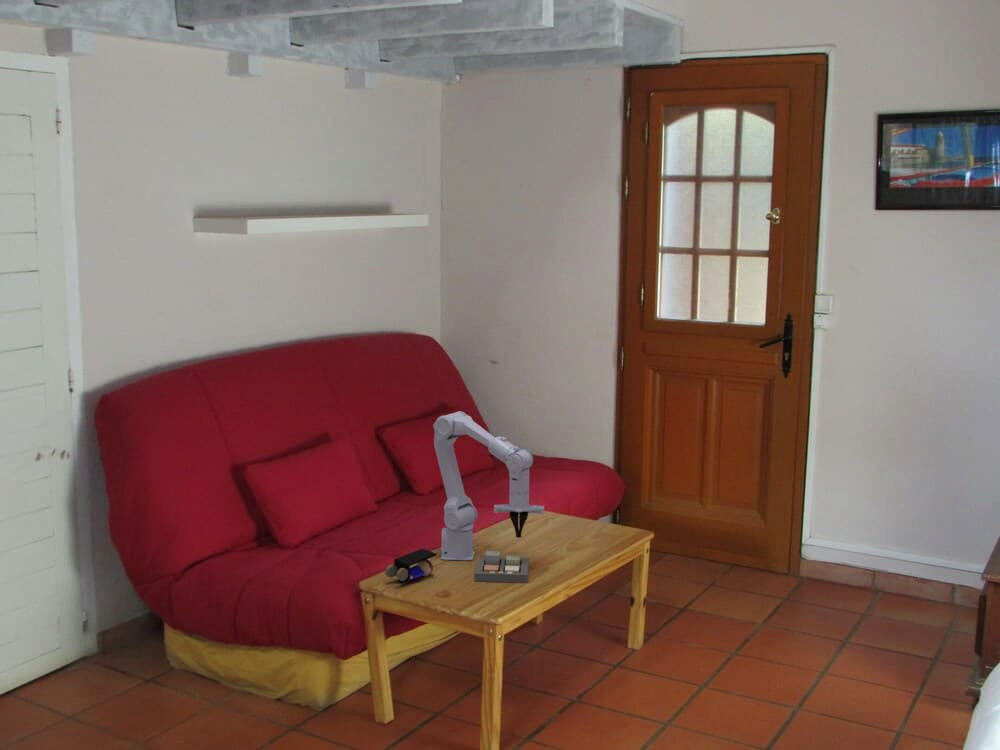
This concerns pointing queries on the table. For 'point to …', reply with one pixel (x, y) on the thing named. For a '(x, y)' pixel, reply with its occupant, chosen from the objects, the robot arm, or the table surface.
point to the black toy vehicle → (404, 562)
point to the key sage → (513, 560)
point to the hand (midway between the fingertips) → (518, 536)
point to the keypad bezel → (502, 572)
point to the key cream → (511, 568)
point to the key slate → (492, 558)
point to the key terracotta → (491, 568)
